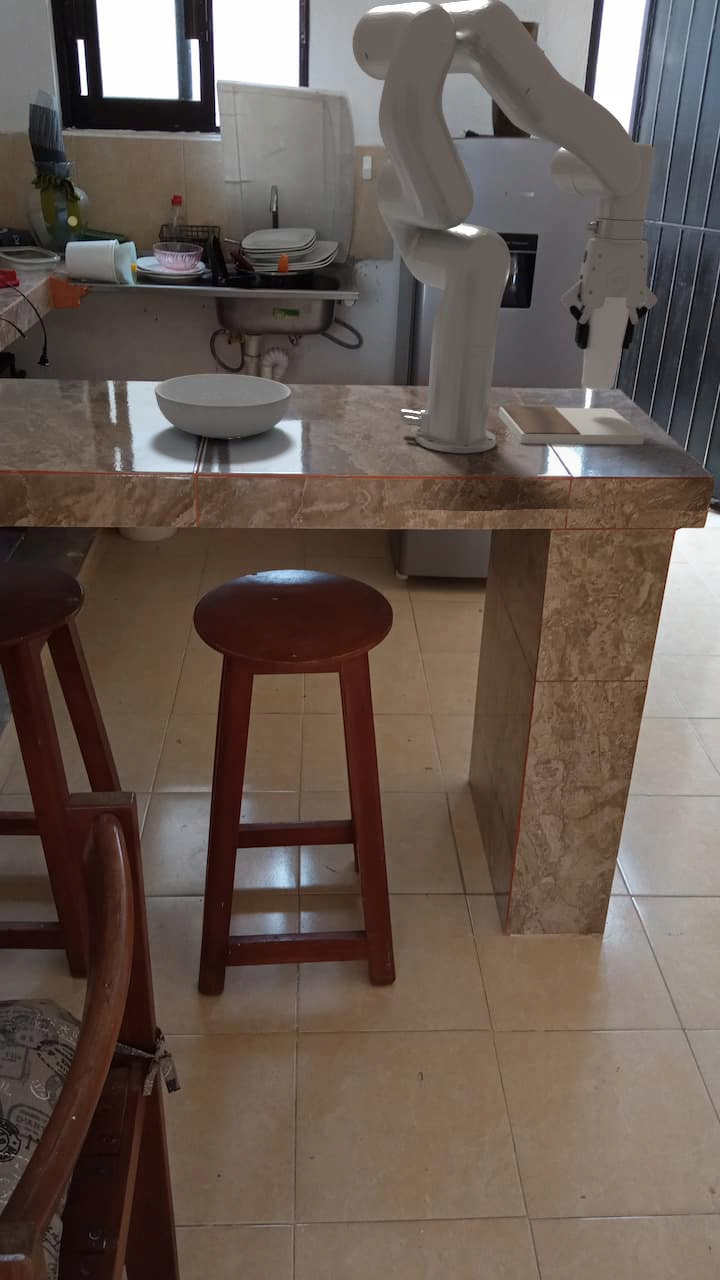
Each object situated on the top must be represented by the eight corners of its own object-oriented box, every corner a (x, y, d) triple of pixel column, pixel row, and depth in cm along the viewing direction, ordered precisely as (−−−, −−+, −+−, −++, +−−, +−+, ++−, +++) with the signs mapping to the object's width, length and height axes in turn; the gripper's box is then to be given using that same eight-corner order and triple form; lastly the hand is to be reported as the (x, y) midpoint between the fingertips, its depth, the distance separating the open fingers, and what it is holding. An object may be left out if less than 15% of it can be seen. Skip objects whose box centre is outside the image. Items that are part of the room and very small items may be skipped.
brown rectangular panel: (523, 442, 158) (524, 432, 157) (501, 415, 172) (502, 406, 171) (578, 443, 159) (580, 433, 158) (552, 416, 173) (553, 406, 172)
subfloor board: (520, 443, 158) (521, 434, 157) (498, 415, 172) (499, 407, 171) (642, 444, 160) (644, 435, 159) (611, 417, 174) (612, 408, 173)
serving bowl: (305, 447, 152) (306, 402, 149) (167, 455, 146) (164, 408, 143) (273, 411, 170) (273, 370, 166) (149, 417, 164) (146, 374, 160)
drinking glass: (611, 394, 163) (625, 299, 156) (571, 388, 166) (583, 294, 159) (622, 386, 169) (636, 293, 162) (584, 380, 172) (596, 288, 164)
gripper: (571, 232, 152) (557, 352, 160) (681, 234, 153) (661, 353, 162) (557, 227, 158) (545, 342, 167) (663, 228, 160) (645, 343, 169)
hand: (602, 346), depth 164 cm, fingers closed on drinking glass, 6 cm apart
